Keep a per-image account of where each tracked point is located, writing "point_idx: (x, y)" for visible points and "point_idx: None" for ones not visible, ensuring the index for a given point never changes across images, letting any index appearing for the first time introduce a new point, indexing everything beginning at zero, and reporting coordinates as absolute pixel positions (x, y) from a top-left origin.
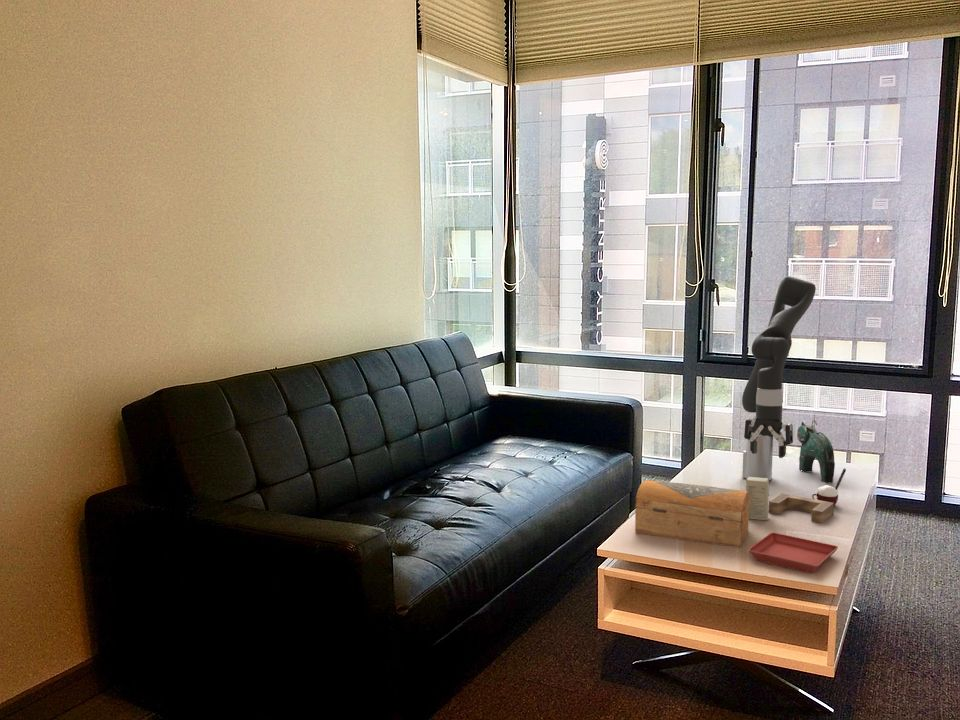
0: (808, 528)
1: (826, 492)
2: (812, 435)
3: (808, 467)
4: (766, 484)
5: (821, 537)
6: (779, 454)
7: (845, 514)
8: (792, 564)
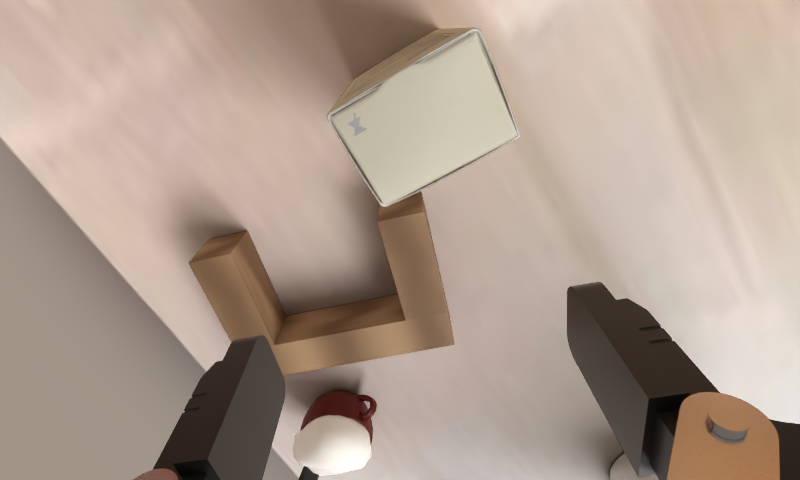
0: (184, 141)
1: (316, 430)
2: None
3: None
4: (333, 108)
5: (65, 78)
6: (242, 358)
7: None
8: None
